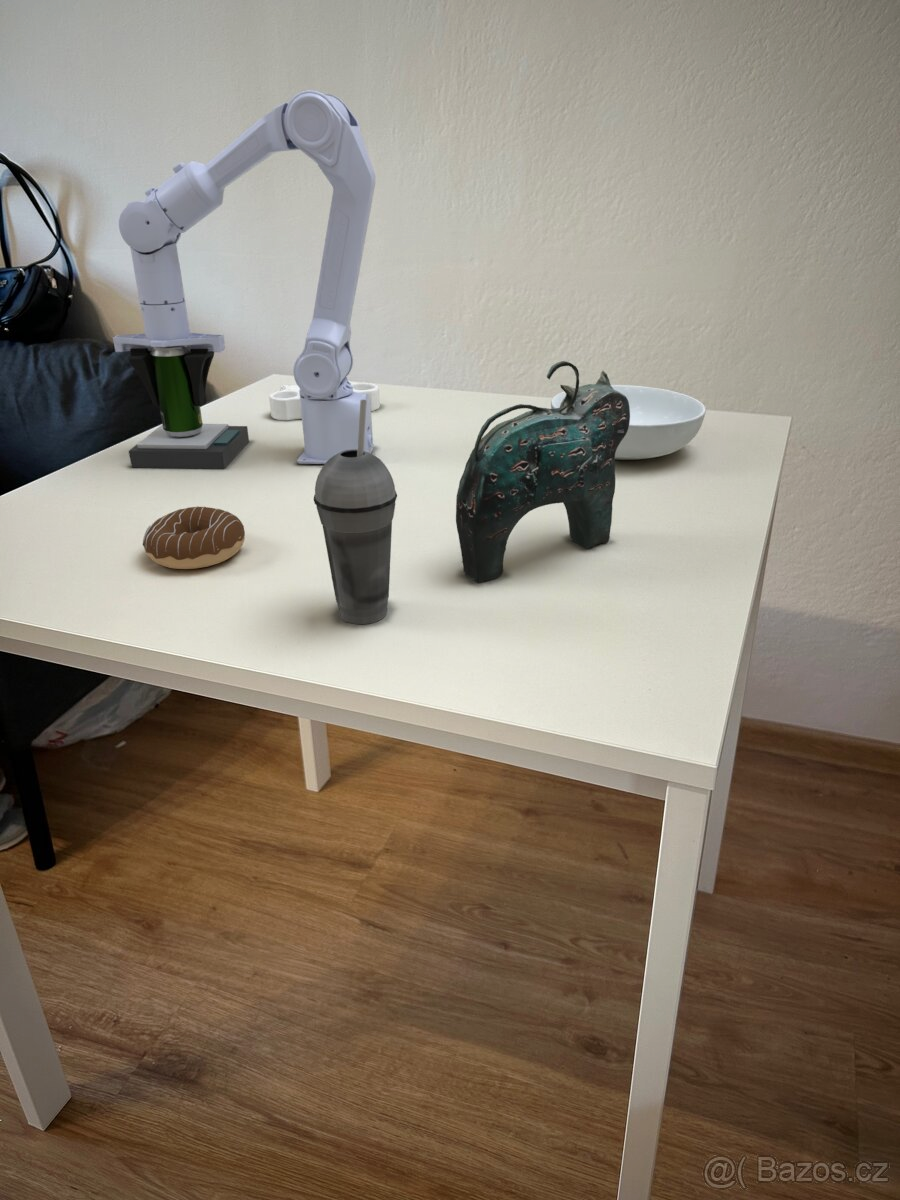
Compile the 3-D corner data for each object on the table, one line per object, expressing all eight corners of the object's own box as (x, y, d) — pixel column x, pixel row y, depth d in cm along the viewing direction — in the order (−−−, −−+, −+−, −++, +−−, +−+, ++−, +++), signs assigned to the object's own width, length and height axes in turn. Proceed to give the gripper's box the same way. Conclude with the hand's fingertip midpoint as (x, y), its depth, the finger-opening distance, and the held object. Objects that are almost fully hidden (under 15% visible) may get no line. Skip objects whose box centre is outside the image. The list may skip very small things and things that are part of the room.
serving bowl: (693, 482, 110) (700, 430, 107) (533, 467, 116) (535, 416, 113) (704, 435, 127) (711, 389, 124) (565, 424, 133) (567, 379, 130)
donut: (268, 550, 93) (263, 516, 91) (184, 585, 86) (178, 548, 84) (208, 526, 99) (203, 493, 97) (126, 556, 92) (119, 522, 90)
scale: (249, 441, 127) (246, 421, 126) (224, 469, 117) (221, 447, 115) (163, 440, 128) (160, 421, 127) (131, 467, 118) (127, 446, 116)
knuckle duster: (364, 392, 151) (389, 414, 139) (262, 403, 146) (278, 426, 134) (363, 373, 150) (388, 393, 138) (260, 383, 144) (275, 405, 132)
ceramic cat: (593, 525, 98) (605, 346, 88) (633, 545, 93) (651, 357, 84) (447, 569, 88) (444, 373, 79) (484, 593, 84) (486, 388, 74)
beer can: (170, 439, 118) (155, 350, 112) (159, 430, 122) (143, 343, 116) (209, 432, 120) (196, 345, 115) (196, 424, 124) (183, 338, 119)
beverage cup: (325, 596, 83) (307, 390, 74) (400, 592, 84) (392, 387, 75) (322, 633, 77) (301, 414, 68) (403, 629, 78) (394, 410, 68)
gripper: (95, 306, 110) (116, 411, 116) (206, 306, 109) (221, 412, 115) (118, 297, 116) (137, 398, 122) (223, 297, 115) (237, 398, 121)
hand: (179, 404), depth 119 cm, fingers closed on beer can, 5 cm apart
